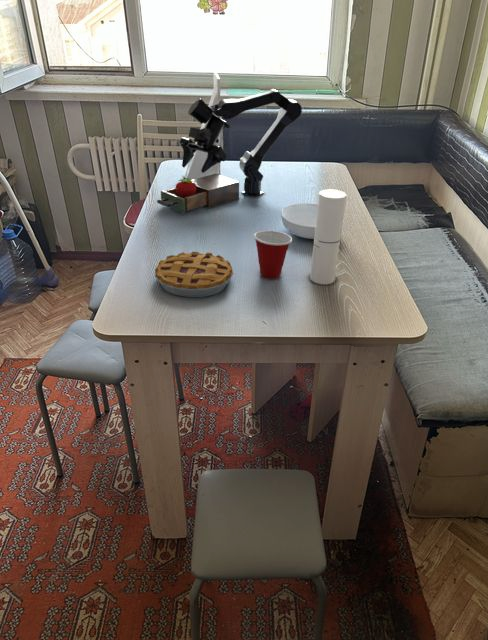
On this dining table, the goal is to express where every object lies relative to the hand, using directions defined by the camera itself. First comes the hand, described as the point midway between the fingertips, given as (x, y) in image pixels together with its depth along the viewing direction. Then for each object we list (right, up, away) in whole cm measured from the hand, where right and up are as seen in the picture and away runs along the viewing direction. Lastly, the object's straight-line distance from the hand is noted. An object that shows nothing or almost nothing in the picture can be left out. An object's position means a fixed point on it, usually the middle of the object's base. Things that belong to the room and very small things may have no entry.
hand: (192, 169), depth 191 cm
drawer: (-4, -12, +4) cm, 13 cm away
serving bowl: (+42, -26, -11) cm, 50 cm away
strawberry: (-3, -11, +4) cm, 12 cm away
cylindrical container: (+43, -45, -38) cm, 73 cm away
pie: (+6, -46, -43) cm, 63 cm away
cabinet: (+6, -7, +13) cm, 16 cm away
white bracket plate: (0, +6, +32) cm, 32 cm away
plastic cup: (+28, -44, -37) cm, 64 cm away
